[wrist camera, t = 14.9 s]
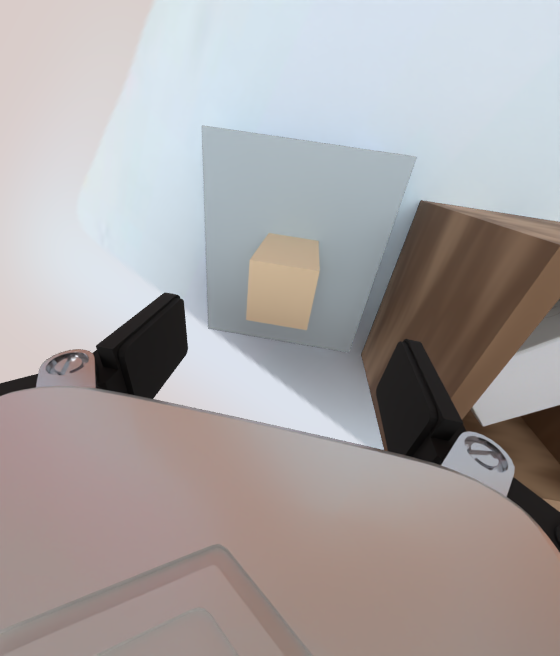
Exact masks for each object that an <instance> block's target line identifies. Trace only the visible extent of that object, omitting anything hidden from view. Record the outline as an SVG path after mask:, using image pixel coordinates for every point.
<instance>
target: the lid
mask: <svg viewBox="0 0 560 656" xmlns="http://www.w3.org/2000/svg"><path fill="white" fill-rule="evenodd" d="M202 150H203V181H204V212H205V242H206V273H207V303H208V329H214V330H219V331H225V332H231V333H237V334H243V335H248V336H254V337H260V338H266V339H272V340H278V341H283V342H289V343H295V344H301V345H307V346H312V347H318V348H324V349H330V350H336V351H342V352H347V353H349V352H350V349H351V346H352V343H353V340H354V337H355V335H356V332H357V329H358V326H359V323H360V320H361V317H362V314H363V312H364V309H365V306H366V303H367V300H368V297H369V294H370V291H371V288H372V286H373V283H374V280H375V277H376V274H377V271H378V268H379V265H380V262H381V260H382V257H383V254H384V251H385V248H386V245H387V242H388V239H389V236H390V234H391V231H392V228H393V225H394V222H395V219H396V216H397V213H398V210H399V208H400V205H401V202H402V199H403V196H404V193H405V190H406V187H407V185H408V182H409V179H410V176H411V173H412V170H413V167H414V164H415V161H416V159H417V157H415V156H409V155H402V154H395V153H388V152H381V151H374V150H367V149H361V148H354V147H347V146H340V145H333V144H326V143H320V142H313V141H306V140H299V139H292V138H285V137H278V136H272V135H265V134H258V133H251V132H244V131H237V130H231V129H224V128H217V127H210V126H203V125H202Z"/></svg>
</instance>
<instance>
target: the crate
mask: <svg viewBox="0 0 560 656" xmlns="http://www.w3.org/2000/svg"><path fill="white" fill-rule="evenodd" d="M559 299H560V222H556V221H550V220H544V219H537V218H531V217H524V216H518V215H512V214H505V213H499V212H492V211H486V210H480V209H473V208H467V207H460V206H454V205H448V204H441V203H435V202H428V201H422V200H421V201H420V204H419V206H418V209H417V211H416V214H415V217H414V219H413V222H412V224H411V227H410V230H409V232H408V235H407V237H406V240H405V242H404V245H403V248H402V250H401V253H400V255H399V258H398V261H397V263H396V266H395V268H394V271H393V274H392V276H391V279H390V281H389V284H388V286H387V289H386V292H385V294H384V297H383V299H382V302H381V305H380V307H379V310H378V312H377V315H376V318H375V320H374V323H373V325H372V328H371V330H370V333H369V336H368V338H367V341H366V343H365V346H364V349H363V351H362V354H361V356H362V360H363V364H364V368H365V372H366V376H367V380H368V385H369V389H370V393H371V397H372V401H373V405H374V409H375V413H376V418H377V422H378V426H379V430H380V434H381V438H382V442H383V447H384V450H385V451H388V449H387V445H386V440H385V435H384V430H383V425H382V421H381V416H380V411H379V406H378V402H377V397H376V388H377V386H378V383H379V381H380V379H381V377H382V375H383V373H384V371H385V369H386V367H387V365H388V362H389V360H390V358H391V356H392V354H393V352H394V350H395V348H396V346H397V344H398V342H400V341H401V342H403V340H404V339H409V340H414V341H419V342H421V343H422V345H423V347H424V349H425V351H426V353H427V354H428V356H429V358H430V360H431V362H432V364H433V366H434V368H435V370H436V372H437V373H438V375H439V377H440V379H441V381H442V383H443V385H444V387H445V389H446V391H447V392H448V394H449V396H450V398H451V400H452V402H453V404H454V406H455V408H456V410H457V411H458V413H459V415H460V417H461V419H462V421H463V425H464V427H465V429H466V431H467V432H468V431H470V432H476V433H479V434H481V435H484V436H486V437H488V438H489V439H491V440H493V441H494V442H495V443H497V444H498V445H499V446H500V447H501V448H502V449H503V450H504V451H505V452H506V453H507V454H508V456H509V457H510V458H511V460H512V462H513V465H514V467H515V468H514V476H513V477H514V478H516V479H517V480H518V481H519V482H521V483H522V484H523V485H525V486H526V487H527V488H529V489H530V490H531V491H533V492H534V493H535V494H537V495H538V496H539V497H541V498H542V499H543V500H545V501H546V502H547V503H549V504H550V505H551V506H553V507H554V508H555V509H556V510H558V511H559V512H560V405H558V406H554V407H551V408H547V409H544V410H540V411H536V412H533V413H529V414H526V415H522V416H519V417H515V418H512V419H508V420H505V421H501V422H498V423H494V424H490V425H487V426H482V425H481V424H480V423H479V422H478V420H477V419H476V417H475V416H474V414H473V413H472V411H471V410H470V409H471V408H472V407H473V406H474V404H475V403H476V402H477V401H478V399H479V398H480V397H481V396H482V394H483V393H484V392H485V391H486V389H487V388H488V387H489V386H490V384H491V383H492V382H493V381H494V379H495V378H496V377H497V376H498V374H499V373H500V372H501V371H502V370H503V368H504V367H505V366H506V365H507V363H508V362H509V361H510V360H511V358H512V357H513V356H514V355H515V353H516V352H517V351H518V350H519V348H520V347H521V346H522V345H523V343H524V342H525V341H526V340H527V338H528V337H529V336H530V335H531V333H532V332H533V331H534V330H535V328H536V327H537V326H538V325H539V324H540V322H541V321H542V320H543V319H544V317H545V316H546V315H547V314H548V312H549V311H550V310H551V309H552V307H553V306H554V305H555V304H556V302H557V301H558V300H559Z"/></svg>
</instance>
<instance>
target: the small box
mask: <svg viewBox="0 0 560 656" xmlns="http://www.w3.org/2000/svg"><path fill="white" fill-rule="evenodd" d="M558 405H560V299H559V300H558V301H557V302H556V304H555V305H554V306H553V307H552V309H551V310H550V311H549V312H548V314H547V315H546V316H545V317H544V319H543V320H542V321H541V322H540V324H539V325H538V326H537V327H536V328H535V330H534V331H533V332H532V333H531V335H530V336H529V337H528V338H527V340H526V341H525V342H524V343H523V345H522V346H521V347H520V348H519V350H518V351H517V352H516V353H515V355H514V356H513V357H512V358H511V360H510V361H509V362H508V363H507V365H506V366H505V367H504V368H503V370H502V371H501V372H500V373H499V374H498V376H497V377H496V378H495V379H494V381H493V382H492V383H491V384H490V386H489V387H488V388H487V389H486V391H485V392H484V393H483V394H482V396H481V397H480V398H479V399H478V401H477V402H476V403H475V404H474V406H473V407H472V408H471V409H470V410H471V411H472V413H473V414H474V416H475V417H476V419H477V420H478V422H479V423H480V424H481V425H482V426H487V425H490V424H494V423H498V422H501V421H505V420H508V419H512V418H515V417H519V416H522V415H526V414H529V413H533V412H536V411H540V410H544V409H547V408H551V407H554V406H558Z"/></svg>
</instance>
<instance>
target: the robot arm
mask: <svg viewBox="0 0 560 656" xmlns="http://www.w3.org/2000/svg"><path fill="white" fill-rule="evenodd" d="M185 323H186V321H185V310H184V301H183V300H182V299H180V296H179V295H175V294H170V293H163V294H162V295H161V296H160V297H158V298H157V299H156V300H154V301H153V302H152V303H151V304H149V305H148V306H147V307H145V308H144V309H143V310H142V311H140V312H139V313H138V314H137V315H135V316H134V317H132V318H131V319H130V320H129V321H127V322H126V323H125V324H123V325H122V326H121V327H120V328H118V329H117V330H116V331H114V332H113V333H112V334H111V335H109V336H108V337H107V338H105V339H104V340H103V341H102V342H100V343H99V344H98V345H97V346H96V348H97V350H96V351H95V352H93V353H91V352H90V351H87V350H81V349H75V350H68V351H65V352H61V353H58V354H56V355H53V356H52V357H50V358H49V359H47V360H46V361H45V362H44V363H43V364H42V365H41V367H40V369H39V373H38V374H36V375H31V376H28V377H24V378H20V379H16V380H12V381H8V382H4V383H1V384H0V656H560V512H559V511H558V510H556V509H555V508H554V507H553V506H551V505H550V504H549V503H547V502H546V501H545V500H543V499H542V498H541V497H539V496H538V495H537V494H535V493H534V492H533V491H531V490H530V489H529V488H527V487H526V486H525V485H523V484H522V483H521V482H519V481H518V480H517V479H516V478H514V477H513V476H514V468H515V467H514V465H513V462H512V460H511V458H510V457H509V456H508V454H507V453H506V452H505V451H504V450H503V449H502V448H501V447H500V446H499V445H498V444H497V443H495V442H494V441H493V440H491V439H489V438H488V437H486V436H484V435H481V434H479V433H476V432H470V431H468V432H467V431H466V429H465V427H464V425H463V421H462V419H461V417H460V415H459V413H458V411H457V410H456V408H455V406H454V404H453V402H452V400H451V398H450V396H449V394H448V392H447V391H446V389H445V387H444V385H443V383H442V381H441V379H440V377H439V375H438V373H437V372H436V370H435V368H434V366H433V364H432V362H431V360H430V358H429V356H428V354H427V353H426V351H425V349H424V347H423V345H422V343H421V342H419V341H414V340H409V339H404V340H403V342H401V341H400V342H398V344H397V346H396V348H395V350H394V352H393V354H392V356H391V358H390V360H389V362H388V365H387V367H386V369H385V371H384V373H383V375H382V377H381V379H380V381H379V383H378V386H377V388H376V397H377V402H378V406H379V411H380V416H381V421H382V425H383V430H384V435H385V440H386V445H387V449H388V451H385V450H381V449H377V448H372V447H368V446H364V445H360V444H355V443H351V442H346V441H342V440H337V439H333V438H328V437H324V436H320V435H315V434H311V433H306V432H302V431H297V430H293V429H289V428H284V427H279V426H274V425H270V424H266V423H261V422H257V421H252V420H248V419H243V418H239V417H234V416H229V415H224V414H220V413H215V412H211V411H206V410H202V409H196V408H192V407H187V406H183V405H178V404H174V403H169V402H164V401H160V400H155V399H153V398H154V397H155V395H156V394H157V393H158V391H159V390H160V389H161V387H162V386H163V385H164V383H165V382H166V381H167V379H168V378H169V377H170V375H171V374H172V373H173V372H174V370H175V369H176V367H177V366H178V365H179V363H180V362H181V361H182V359H183V358H184V357H185V355H186V354H187V350H188V344H187V333H186V324H185Z"/></svg>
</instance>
